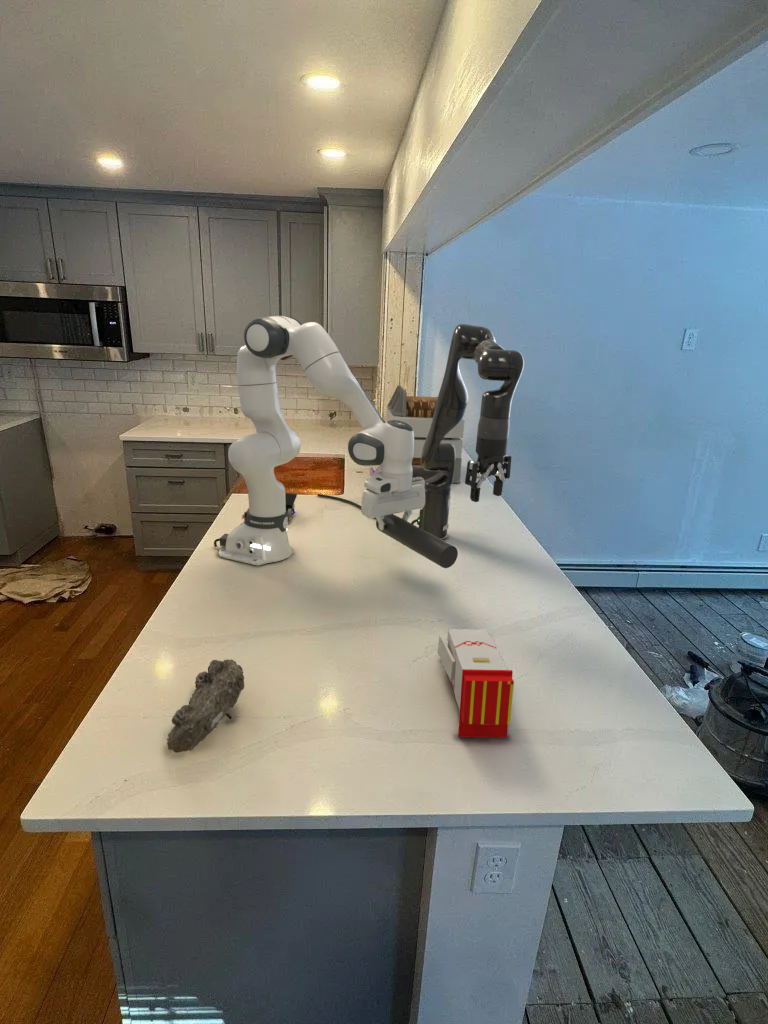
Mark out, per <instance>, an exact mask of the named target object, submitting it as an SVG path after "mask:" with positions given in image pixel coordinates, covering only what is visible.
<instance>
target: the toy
mask: <svg viewBox="0 0 768 1024" xmlns="http://www.w3.org/2000/svg"><path fill="white" fill-rule="evenodd" d="M446 640H447V643H446V641H445V639H444V636H443V635H442V634H439V637H438V646H437V656H438V657H439V659H440V661H441V663H442V666H443V668H444V670H445V672H446V674H447V677H448V679H449V681H450V684H451V687H452V690H453V693H454V697H455V701H456V705H457V708H458V711H459V714H458V715H459V716H458V730H457V731H458V732H457V737H458V738H508V731H509V726H510V725H511V717H512V707H513V697H514V696H513V695H514V684H515V680H514V679H513V673H514V671H513V670H512V669H508V667H507V665H506V662H505V661H504V659H503V658H502V655H501V653H500V651H499V649H498V647H497V643H496V639H495V637H494V635H493V634H491V632H490V631H489V629H467V628H466V629H465V628H463V629H461V628H460V629H459V628H448V630H447V639H446Z"/></svg>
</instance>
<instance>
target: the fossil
mask: <svg viewBox="0 0 768 1024" xmlns="http://www.w3.org/2000/svg"><path fill="white" fill-rule="evenodd" d="M243 670H244V669H243V667H242V665H240V664H237V662H236V661H235V660H234V659H232V658H231V659H227V658H226V659H224V660H223V661H222V660H217V659H212V660H211V661H210V663H209V665H208V666H207V671H201V672H199V673H198V674H197V675H196V676H195V680H194V684H195V685H194V687H195V689H194V690H193V693H192V694H191V697H190V698H189V700H188V704H184V705H182V706H181V707H180V709H177V710H176V711H175V713H174V715H173V716H172V718H171V723H172V724H173V727H172V730H171V731H170V732H168V734H167V738H166V741H167V742H166V745H167V749H168V750H169V751H173V752H174V753H176V754H178V753H182V752H188V751H189V752H192V751H193V750H195V748H196V747H197V746H199V744H200V743H201V742H203V741H204V740H205V739H206V738H207V737H208V736H209V735H210V734H211V733H212V732H214V730H215V729H217V727H218V726H219V724H220V722H221V721H222V720H223V719H224V718H225V716H226V717H227V719H229V720H233V717H232V715H230V714H229V710H230V709H231V708H234V706H235V704H236V703H237V702H238V699H239V697H240V695H241V693H242V691H243V690H245V689H244V688H245V675H244V671H243Z"/></svg>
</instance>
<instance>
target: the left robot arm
mask: <svg viewBox="0 0 768 1024" xmlns="http://www.w3.org/2000/svg"><path fill="white" fill-rule="evenodd" d="M243 341H244V344H245V345H243V346H241V347H240V348H239V349H238V351H237V354H236V380H237V388H238V396H239V402H240V411H241V413H242V414H243V415H244V416H245V417H246V418H247V419H250V420H251V422H252V423H253V426H254V428H255V431H256V433H251V434H248V435H244V436H242V437H240V438H239V439H237V440H235V441H234V442H232V443H231V444H230V446H229V448H228V452H227V457H228V461H229V464H230V465H231V467H232V469H234V471H236V472H237V473H238V474H240V476H241V477H242V478H243V480H244V482H245V485H246V488H247V496H248V508H247V510H246V511H245V512H243V514H242V515H241V520H243V519H244V520H243V522H241V523H240V524H238V525H237V526H236V527H234V528H233V529H232V530H231V531H229V533H224V534H223V535H221V537H219V538H216V539H214V541H213V546H214V548H217V547H218V543H217V542H219V546H220V548H219V550H218V557H220V558H224V559H227V560H232V561H235V562H236V561H237V562H240V563H245V564H249V565H252V566H263V565H265V564H269V563H276V562H281V561H283V560H284V561H285V560H286V559H288V558H289V557H291V555H292V554H293V550H292V547H291V545H290V542H289V536H288V526H289V522H288V518H287V510H286V500H285V493H286V487H285V485H284V484H283V483H282V482H281V481H279V480H277V477H276V474H275V468H276V467H279V466H282V465H285V464H287V463H289V462H291V461H293V460H294V459H295V458H297V456H298V455H299V453H300V452H301V439H300V437H299V435H298V434H297V433H296V432H295V431H294V430H292V429H291V428H290V426H289V425H288V423H287V422H286V421H287V420H285V418H284V415H283V412H282V407H281V402H280V396H279V388H278V380H277V372H276V371H277V370H276V367H277V364H278V362H279V360H281V361H285V360H287V359H289V358H292V357H294V358H295V359H296V360H297V361H298V363H299V365H300V367H301V369H302V370H303V372H304V375H305V376H306V378H307V380H308V381H309V383H310V384H311V386H312V387H313V388H314V389H315V390H316V391H317V392H318V393H319V394H321V395H324V396H327V397H330V398H331V397H332V398H333V399H336V400H338V401H340V402H342V403H343V404H344V405H346V406H347V407H348V408H349V410H350V412H351V413H352V414H353V416H354V417H355V419H356V420H357V422H358V424H359V425H360V427H361V429H362V430H360V431H358V432H356V433H355V434H353V435H352V436H351V437H350V438H349V440H348V443H347V452H348V455H349V457H350V459H351V460H352V461H353V462H354V463H355V464H356V465H359V466H362V467H363V466H364V467H373V466H378V467H379V466H380V467H381V470H380V472H379V473H378V474H376V475H374V476H373V477H371V478H369V477H368V478H367V479H365V480H364V483H363V486H364V488H365V490H364V491H363V493H362V497H361V505H360V506H361V509H360V511H361V514H362V515H363V516H364V517H365V518H367V519H375V518H376V519H377V520H376V519H375V520H376V521H378V523H379V529H380V530H385V529H386V526H387V524H386V523H384V522H383V520H382V519H384V516H386V515H390V514H394V515H396V514H400V513H403V514H402V516H401V517H400V518H401V519H403V520H405V521H407V522H409V521H408V520H409V518H410V517H411V515H412V512H413V511H414V510H421V509H422V508H423V507H424V505H425V488H424V487H425V479H424V478H423V477H422V476H416V477H413V475H414V474H413V471H414V469H413V466H412V460H413V457H414V431H413V428H412V427H411V426H410V425H408V424H407V423H405V422H402V421H398V420H397V421H396V420H389V421H387V422H386V420H385V419H383V417H382V416H381V414H380V413H379V412H378V410H377V408H376V406H375V405H374V404H373V401H372V400H371V398H370V397H369V395H368V394H367V393H366V391H365V389H364V388H363V386H362V385H361V384H360V383H359V381H358V380H357V378H356V377H355V376H354V375H353V372H352V371H351V370H350V368H349V365H347V363H346V361H345V359H344V358H343V356H342V354H341V351H340V350H339V348H338V347H337V345H336V343H335V342H334V340H333V339H332V337H331V336H330V335H329V333H328V332H327V331H326V329H325V328H324V327H323V326H322V325H321V324H320V323H318V322H315V321H309V322H305V323H303V322H302V321H301V320H299V319H297V318H296V317H293V316H284V315H272V316H271V315H270V316H259V317H256V318H253V319H252V320H250V321H249V322H248V323H247V325H246V326H245V329H244V332H243Z"/></svg>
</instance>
